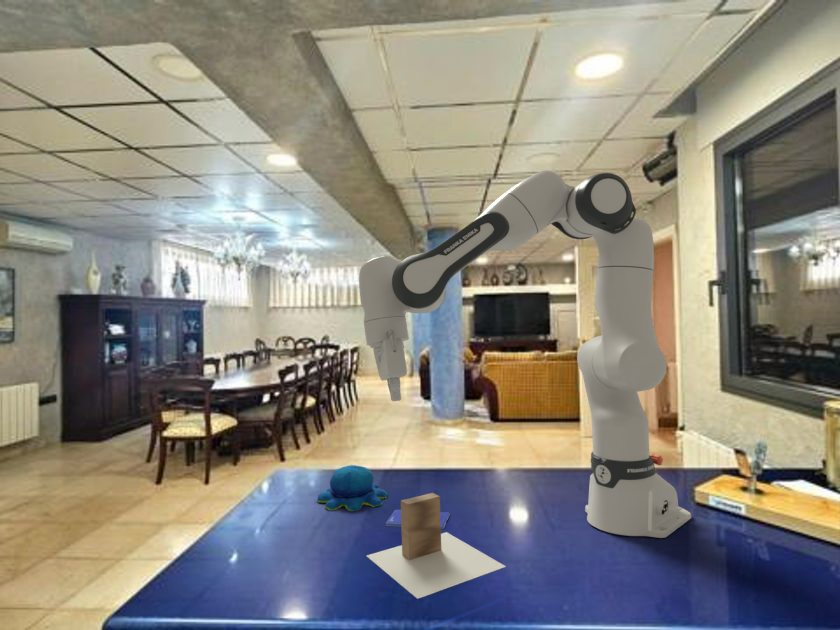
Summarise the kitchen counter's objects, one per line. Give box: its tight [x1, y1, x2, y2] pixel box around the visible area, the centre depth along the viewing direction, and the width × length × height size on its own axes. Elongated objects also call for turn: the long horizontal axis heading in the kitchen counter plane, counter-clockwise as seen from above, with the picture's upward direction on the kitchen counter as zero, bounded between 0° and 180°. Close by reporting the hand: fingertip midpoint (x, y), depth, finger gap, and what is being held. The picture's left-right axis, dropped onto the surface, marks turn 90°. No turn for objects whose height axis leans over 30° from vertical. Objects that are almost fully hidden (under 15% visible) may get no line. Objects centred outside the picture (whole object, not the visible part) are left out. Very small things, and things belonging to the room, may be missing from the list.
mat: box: [366, 531, 507, 600], centre depth 92 cm, size 18×18×1 cm
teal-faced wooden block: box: [400, 492, 442, 560], centre depth 95 cm, size 7×3×10 cm, turn 122°
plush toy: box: [316, 464, 389, 512], centre depth 127 cm, size 17×17×8 cm
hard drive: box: [385, 509, 451, 530], centre depth 111 cm, size 2×8×12 cm
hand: (396, 401), depth 105 cm, fingers closed
